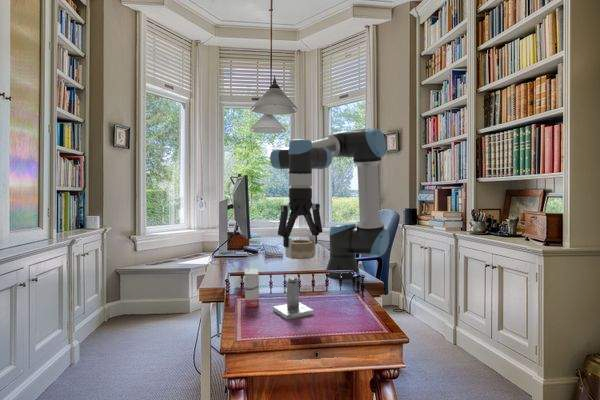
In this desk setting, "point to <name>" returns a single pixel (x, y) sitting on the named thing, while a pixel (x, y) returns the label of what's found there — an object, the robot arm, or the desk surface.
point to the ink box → (251, 288)
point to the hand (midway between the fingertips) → (300, 255)
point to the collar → (302, 249)
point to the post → (293, 303)
